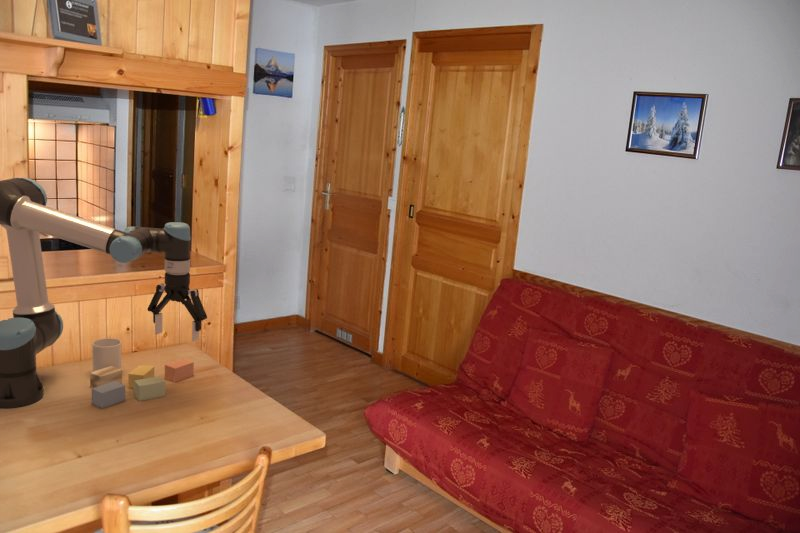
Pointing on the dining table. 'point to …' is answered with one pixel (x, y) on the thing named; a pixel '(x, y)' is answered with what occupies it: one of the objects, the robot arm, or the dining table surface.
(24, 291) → the robot arm
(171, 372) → the terracotta brick
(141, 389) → the sage brick
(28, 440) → the dining table surface
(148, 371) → the mustard brick
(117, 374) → the birch brick
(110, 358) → the mug
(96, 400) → the slate brick
